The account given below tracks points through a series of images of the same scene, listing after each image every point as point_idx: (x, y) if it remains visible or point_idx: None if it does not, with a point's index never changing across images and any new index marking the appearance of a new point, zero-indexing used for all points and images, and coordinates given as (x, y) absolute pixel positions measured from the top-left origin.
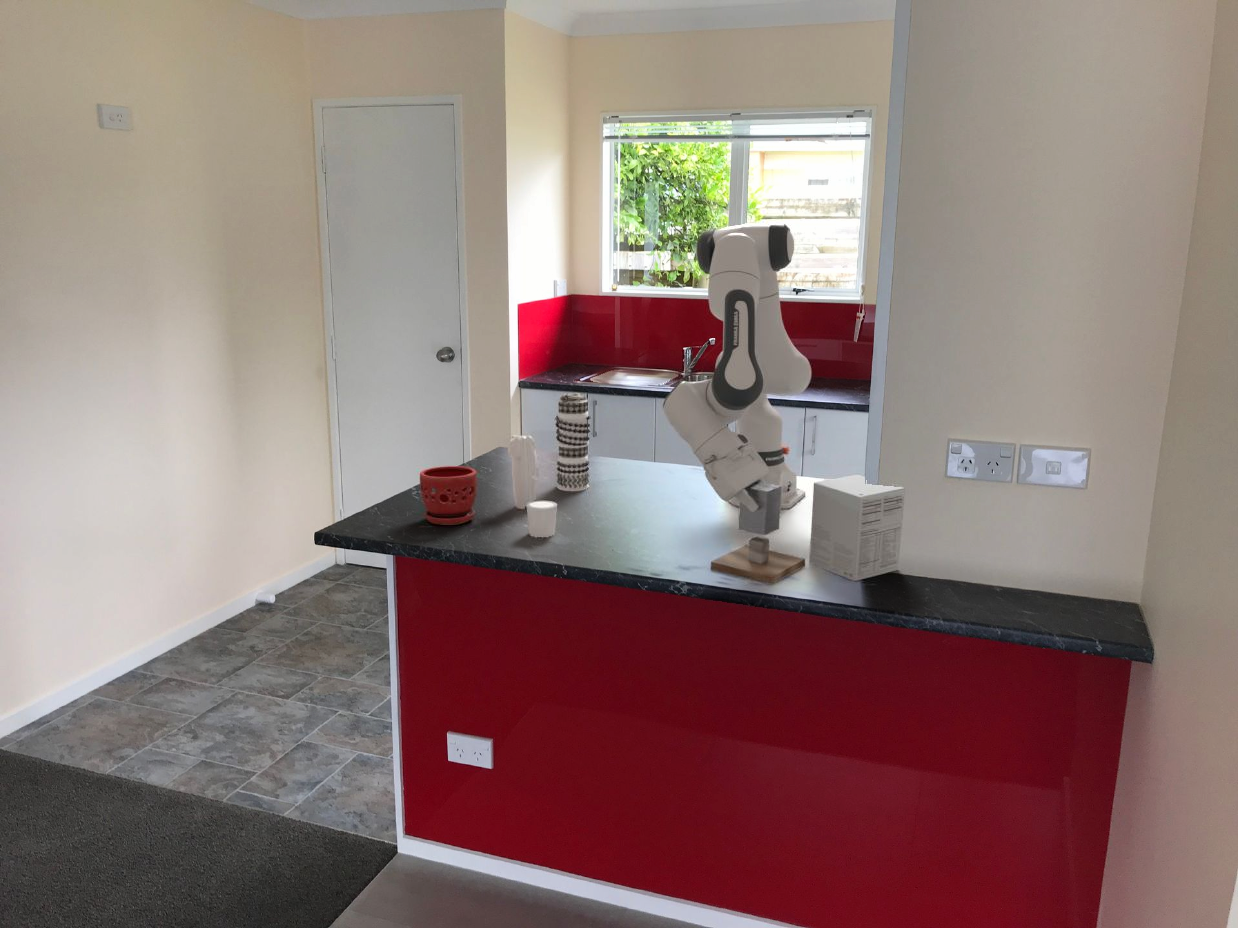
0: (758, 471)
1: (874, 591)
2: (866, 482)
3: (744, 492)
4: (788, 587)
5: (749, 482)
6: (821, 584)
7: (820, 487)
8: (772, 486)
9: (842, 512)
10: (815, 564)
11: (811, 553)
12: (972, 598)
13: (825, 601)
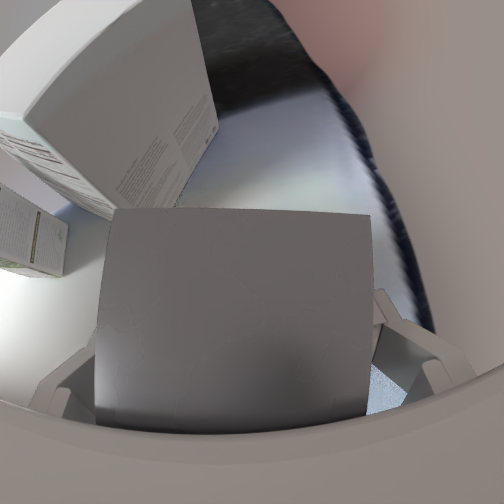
0: (18, 451)
1: (248, 94)
2: (24, 42)
3: (462, 366)
4: (334, 212)
5: (360, 430)
6: (273, 166)
7: (59, 87)
8: (162, 261)
9: (161, 52)
10: None
11: None
12: (200, 29)
13: (349, 135)
